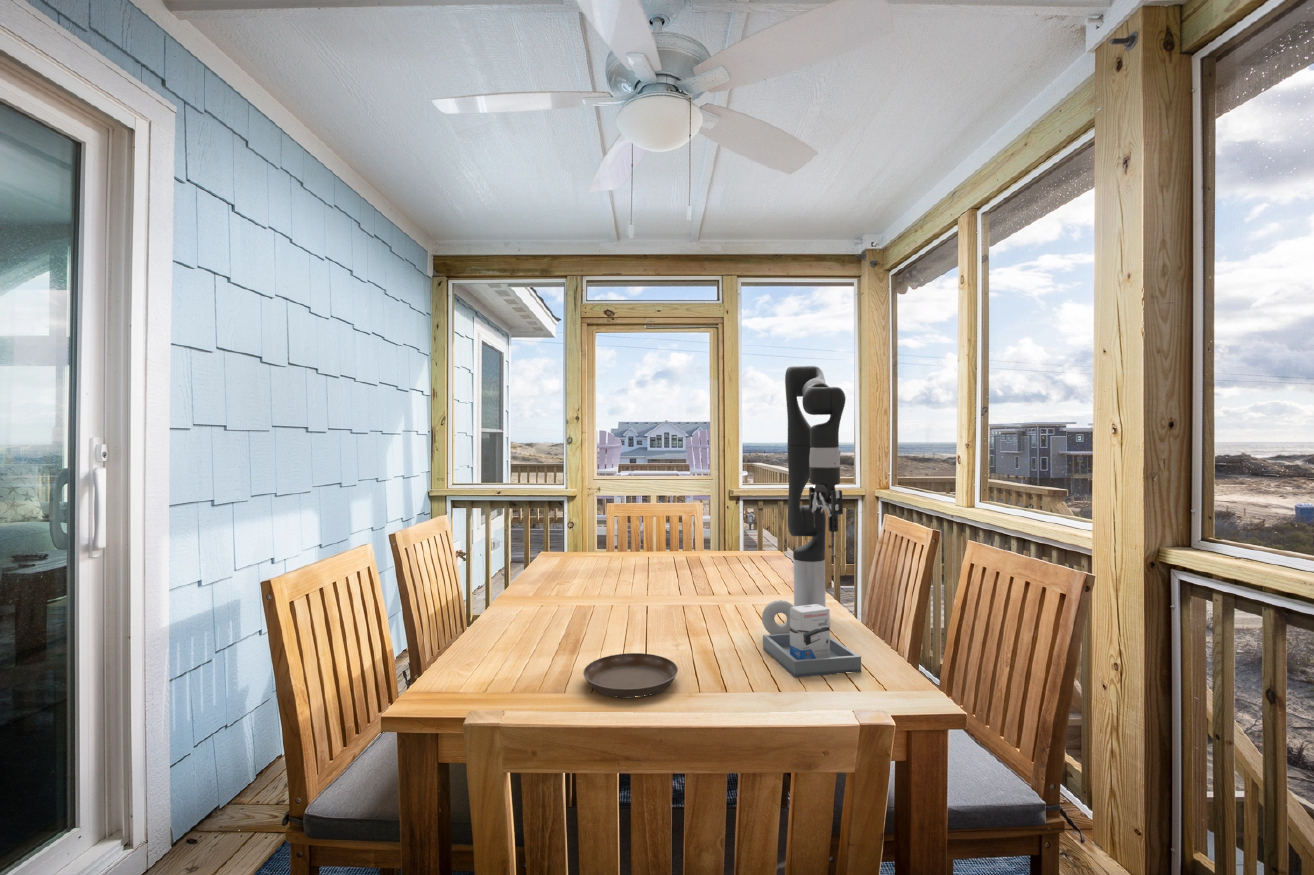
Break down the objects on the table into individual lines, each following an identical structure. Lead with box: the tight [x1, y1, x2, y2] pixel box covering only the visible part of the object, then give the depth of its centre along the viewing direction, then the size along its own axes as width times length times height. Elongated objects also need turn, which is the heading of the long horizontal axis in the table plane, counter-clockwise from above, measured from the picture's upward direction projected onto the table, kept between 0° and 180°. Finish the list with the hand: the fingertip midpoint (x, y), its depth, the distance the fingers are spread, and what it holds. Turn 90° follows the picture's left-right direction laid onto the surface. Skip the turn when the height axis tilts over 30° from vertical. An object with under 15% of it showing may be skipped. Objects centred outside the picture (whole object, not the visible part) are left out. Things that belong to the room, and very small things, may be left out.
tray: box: [762, 633, 862, 679], centre depth 150 cm, size 20×16×4 cm
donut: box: [761, 599, 794, 635], centre depth 168 cm, size 10×4×10 cm, turn 81°
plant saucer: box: [583, 652, 679, 698], centre depth 137 cm, size 21×21×3 cm
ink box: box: [790, 604, 831, 660], centre depth 150 cm, size 8×5×12 cm, turn 113°
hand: (825, 529), depth 159 cm, fingers open, 8 cm apart
